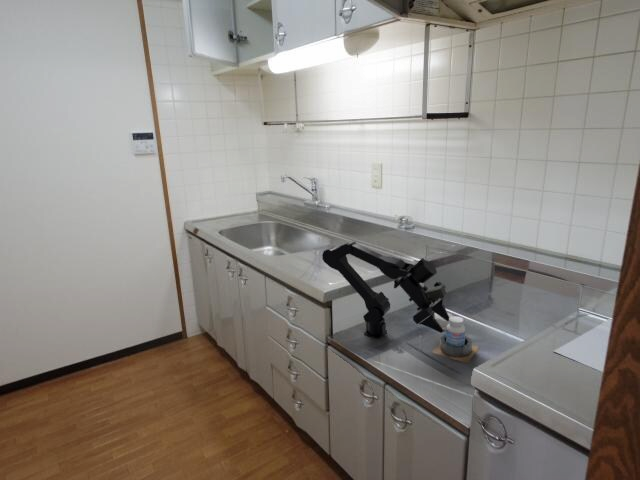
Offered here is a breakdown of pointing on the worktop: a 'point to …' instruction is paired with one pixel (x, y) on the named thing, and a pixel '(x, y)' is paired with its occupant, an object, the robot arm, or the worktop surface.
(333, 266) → the robot arm
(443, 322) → the mechanical component
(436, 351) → the tan square board
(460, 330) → the pill bottle
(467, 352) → the ring collar
